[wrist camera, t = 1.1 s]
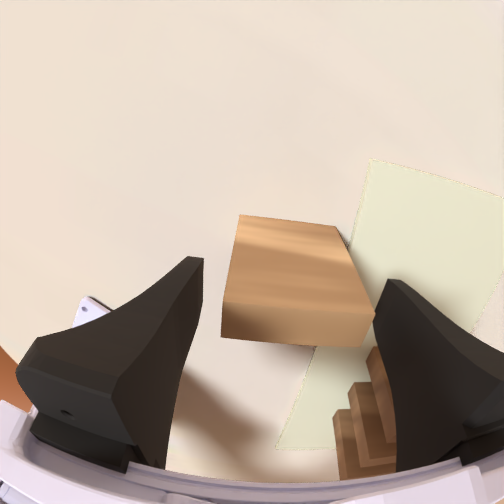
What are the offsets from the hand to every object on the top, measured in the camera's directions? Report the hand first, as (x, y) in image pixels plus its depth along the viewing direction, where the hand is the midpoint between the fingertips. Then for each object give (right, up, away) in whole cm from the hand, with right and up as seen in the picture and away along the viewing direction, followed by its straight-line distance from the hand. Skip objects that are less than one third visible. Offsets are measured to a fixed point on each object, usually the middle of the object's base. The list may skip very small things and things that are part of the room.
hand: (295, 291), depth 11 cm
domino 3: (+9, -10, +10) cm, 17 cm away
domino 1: (0, +2, +4) cm, 5 cm away
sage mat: (+9, -8, +10) cm, 15 cm away
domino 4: (+8, -13, +12) cm, 20 cm away
